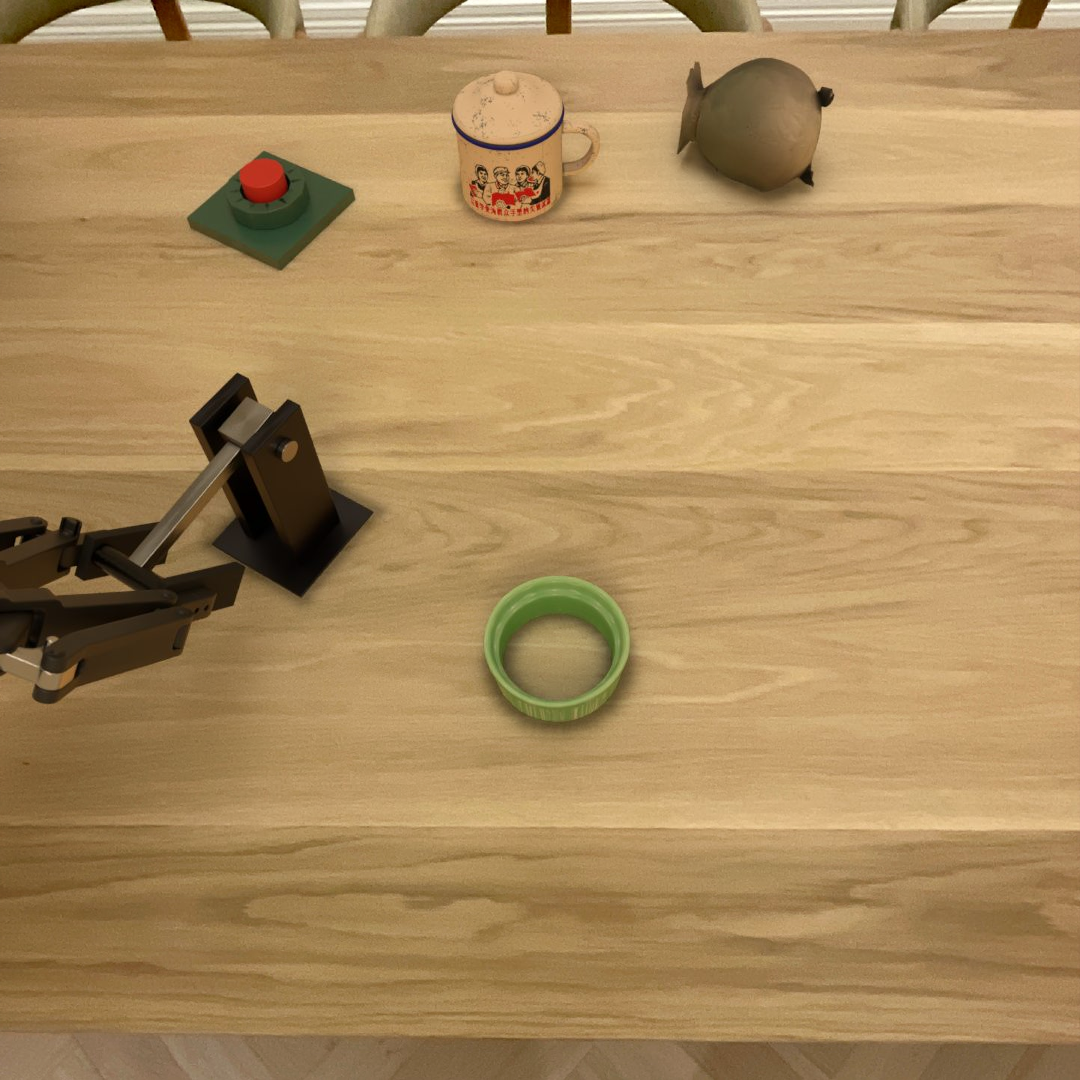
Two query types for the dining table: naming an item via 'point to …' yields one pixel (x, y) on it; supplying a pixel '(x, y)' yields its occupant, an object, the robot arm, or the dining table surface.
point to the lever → (185, 503)
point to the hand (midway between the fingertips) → (199, 562)
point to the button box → (273, 214)
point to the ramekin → (556, 599)
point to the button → (263, 181)
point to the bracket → (278, 494)
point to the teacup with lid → (515, 145)
